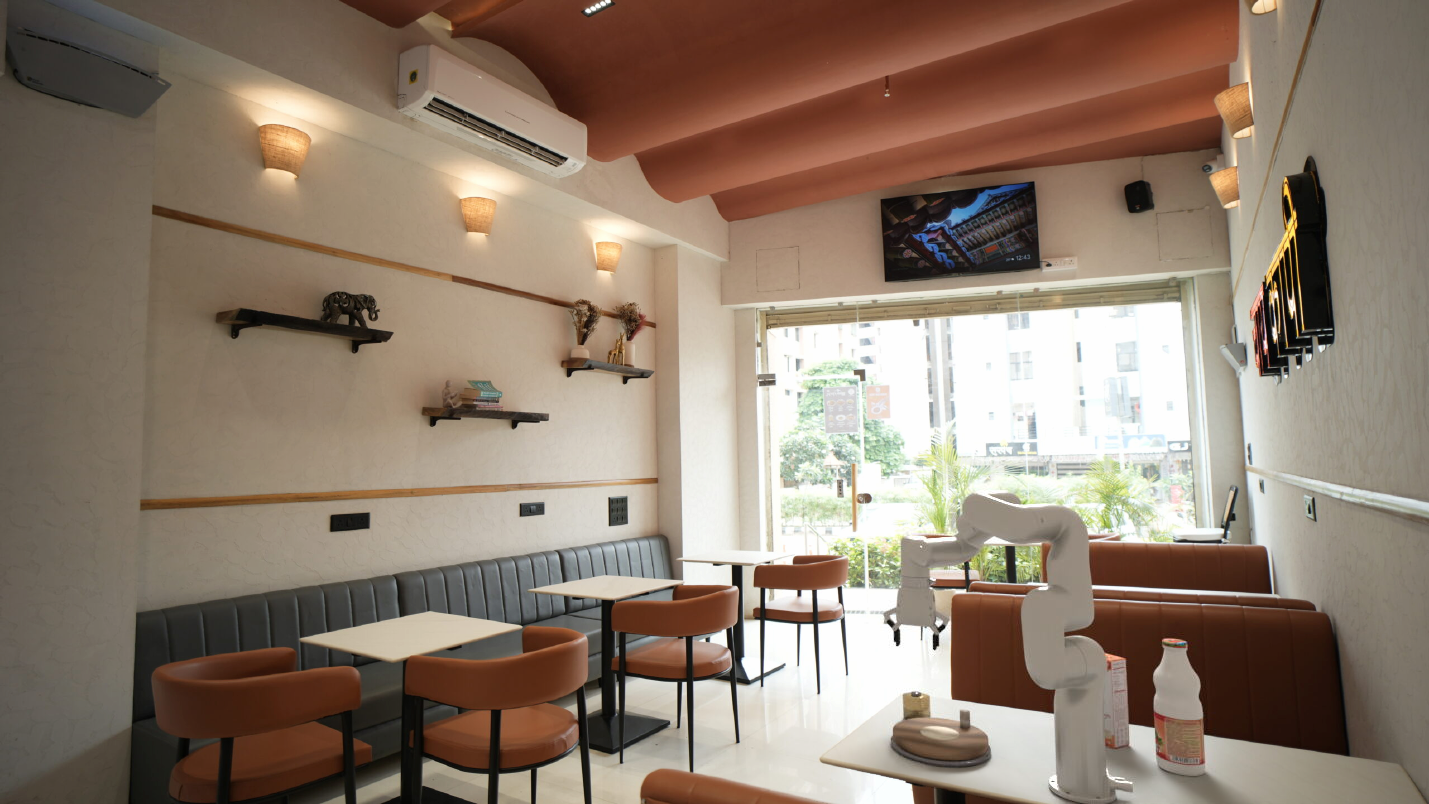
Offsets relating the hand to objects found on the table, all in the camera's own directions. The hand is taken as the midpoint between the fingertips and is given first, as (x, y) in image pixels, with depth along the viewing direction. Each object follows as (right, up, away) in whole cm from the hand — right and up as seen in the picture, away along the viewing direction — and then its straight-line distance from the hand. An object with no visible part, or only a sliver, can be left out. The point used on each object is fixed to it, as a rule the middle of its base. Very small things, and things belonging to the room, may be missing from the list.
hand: (916, 646), depth 200 cm
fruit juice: (+50, -17, -33) cm, 62 cm away
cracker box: (+41, -18, -15) cm, 47 cm away
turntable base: (0, -17, -21) cm, 27 cm away
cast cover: (0, -19, -1) cm, 19 cm away
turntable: (0, -16, -21) cm, 26 cm away
